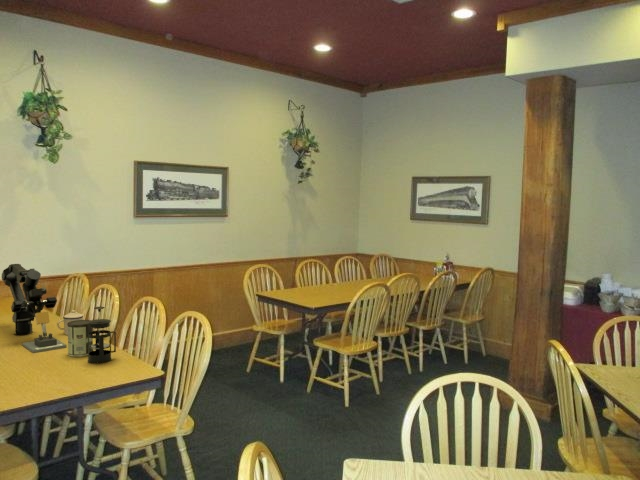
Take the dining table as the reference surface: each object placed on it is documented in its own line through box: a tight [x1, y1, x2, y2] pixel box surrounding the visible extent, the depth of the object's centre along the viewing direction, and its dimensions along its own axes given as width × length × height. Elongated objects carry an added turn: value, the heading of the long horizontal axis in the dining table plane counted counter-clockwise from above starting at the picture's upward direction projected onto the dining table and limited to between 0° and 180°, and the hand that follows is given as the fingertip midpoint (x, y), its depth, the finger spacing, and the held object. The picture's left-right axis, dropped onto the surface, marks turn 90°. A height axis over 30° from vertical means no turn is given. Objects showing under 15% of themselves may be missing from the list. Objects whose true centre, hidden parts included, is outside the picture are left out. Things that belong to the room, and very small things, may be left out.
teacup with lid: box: [56, 309, 84, 336], centre depth 268 cm, size 12×9×12 cm
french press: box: [87, 306, 117, 365], centre depth 226 cm, size 12×9×23 cm
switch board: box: [21, 332, 67, 354], centre depth 245 cm, size 16×14×6 cm
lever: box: [34, 311, 50, 337], centre depth 245 cm, size 2×5×11 cm, turn 134°
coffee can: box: [67, 319, 94, 358], centre depth 235 cm, size 10×10×14 cm
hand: (38, 318), depth 249 cm, fingers closed
